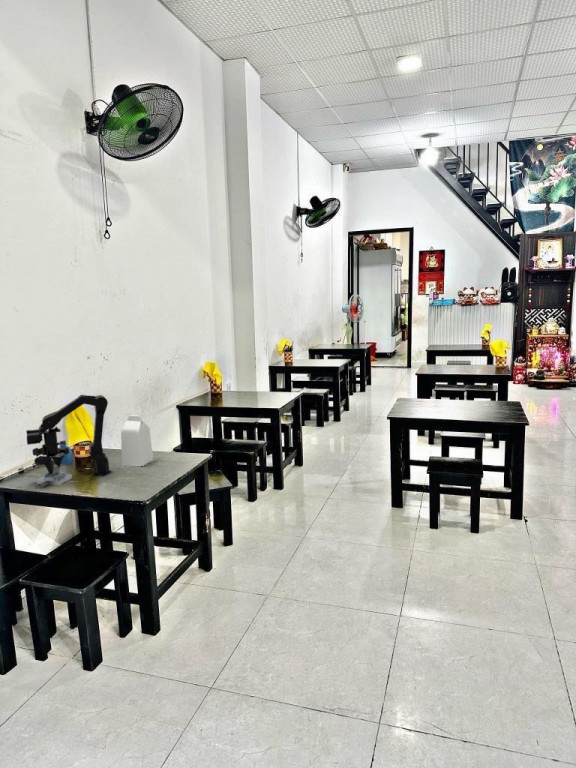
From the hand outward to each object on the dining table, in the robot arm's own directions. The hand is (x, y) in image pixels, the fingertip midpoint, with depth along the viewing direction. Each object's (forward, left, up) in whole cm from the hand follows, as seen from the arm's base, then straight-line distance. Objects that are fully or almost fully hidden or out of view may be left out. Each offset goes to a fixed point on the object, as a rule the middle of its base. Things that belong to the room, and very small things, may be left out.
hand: (54, 472), depth 258 cm
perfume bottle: (+13, -26, -4) cm, 29 cm away
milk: (-27, -32, -4) cm, 42 cm away
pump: (0, 0, -1) cm, 1 cm away
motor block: (0, +2, -4) cm, 5 cm away
